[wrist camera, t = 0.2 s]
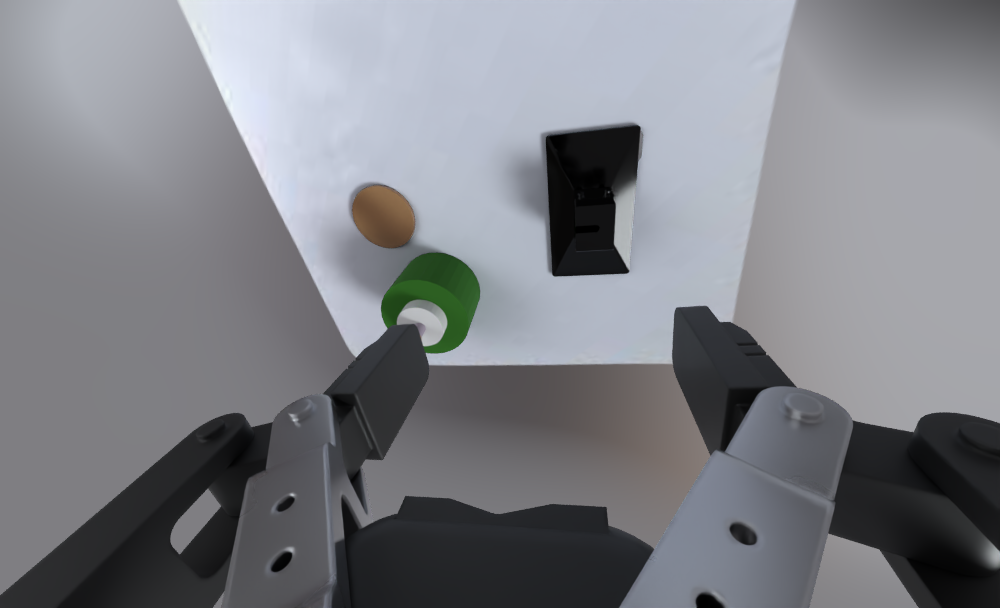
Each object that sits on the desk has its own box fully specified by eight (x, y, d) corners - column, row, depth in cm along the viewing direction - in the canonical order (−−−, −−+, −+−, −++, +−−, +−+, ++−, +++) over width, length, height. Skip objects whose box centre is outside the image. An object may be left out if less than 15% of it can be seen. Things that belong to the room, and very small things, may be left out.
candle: (397, 250, 35) (346, 305, 27) (478, 255, 34) (452, 313, 26) (409, 317, 40) (369, 382, 31) (481, 323, 39) (459, 392, 30)
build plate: (545, 135, 28) (543, 144, 24) (643, 123, 26) (658, 131, 23) (552, 275, 34) (551, 300, 30) (631, 271, 33) (641, 297, 29)
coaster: (354, 177, 32) (351, 178, 31) (418, 195, 32) (417, 196, 31) (354, 237, 35) (352, 238, 35) (412, 253, 35) (411, 255, 35)
